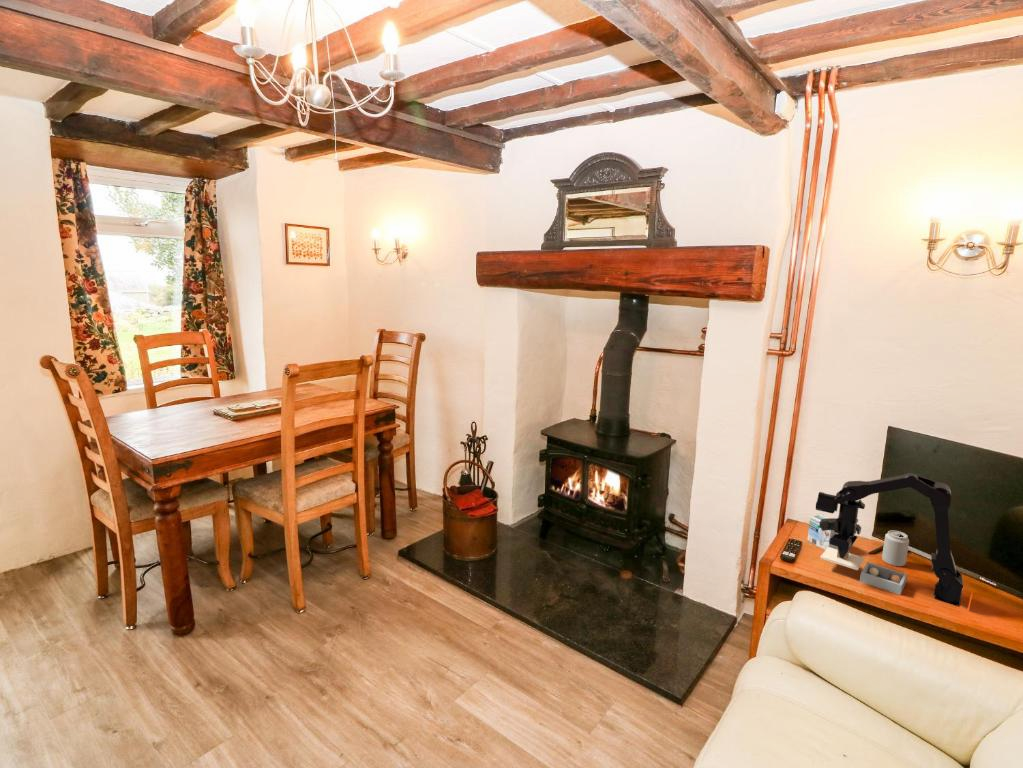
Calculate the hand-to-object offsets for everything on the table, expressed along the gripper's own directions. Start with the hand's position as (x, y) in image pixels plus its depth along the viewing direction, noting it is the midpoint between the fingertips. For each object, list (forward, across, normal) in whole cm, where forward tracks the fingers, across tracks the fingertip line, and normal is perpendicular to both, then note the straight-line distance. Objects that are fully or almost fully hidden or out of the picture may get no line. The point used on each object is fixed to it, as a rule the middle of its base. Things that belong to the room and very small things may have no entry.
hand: (842, 556), depth 202 cm
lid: (+1, 0, 0) cm, 1 cm away
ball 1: (+5, -3, +10) cm, 11 cm away
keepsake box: (+6, 0, +13) cm, 14 cm away
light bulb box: (+6, -17, -10) cm, 21 cm away
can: (+6, -20, +13) cm, 25 cm away
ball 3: (+5, -3, +16) cm, 17 cm away
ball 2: (+5, -3, +13) cm, 14 cm away
